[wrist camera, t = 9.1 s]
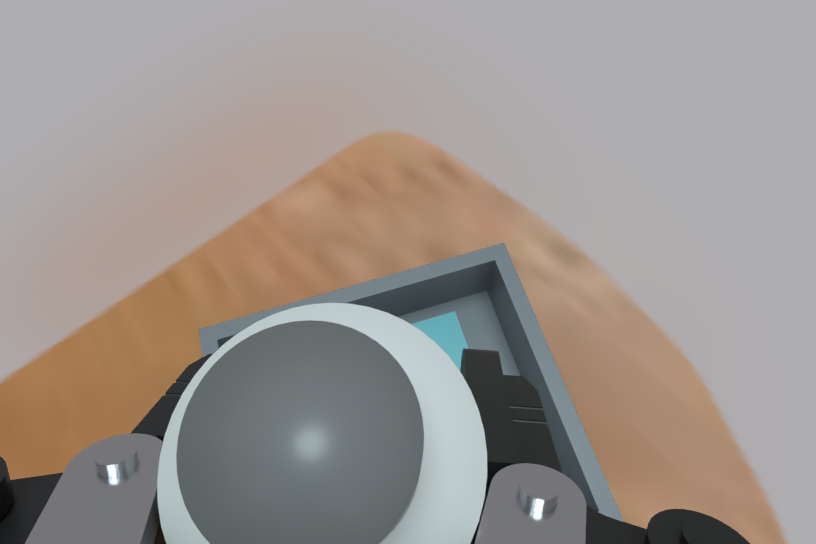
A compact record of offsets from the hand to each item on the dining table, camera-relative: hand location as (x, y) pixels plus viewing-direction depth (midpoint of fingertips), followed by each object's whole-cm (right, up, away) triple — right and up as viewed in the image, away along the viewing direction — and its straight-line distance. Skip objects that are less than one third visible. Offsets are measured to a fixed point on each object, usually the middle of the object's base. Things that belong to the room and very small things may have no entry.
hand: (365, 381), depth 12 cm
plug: (0, -4, +3) cm, 5 cm away
